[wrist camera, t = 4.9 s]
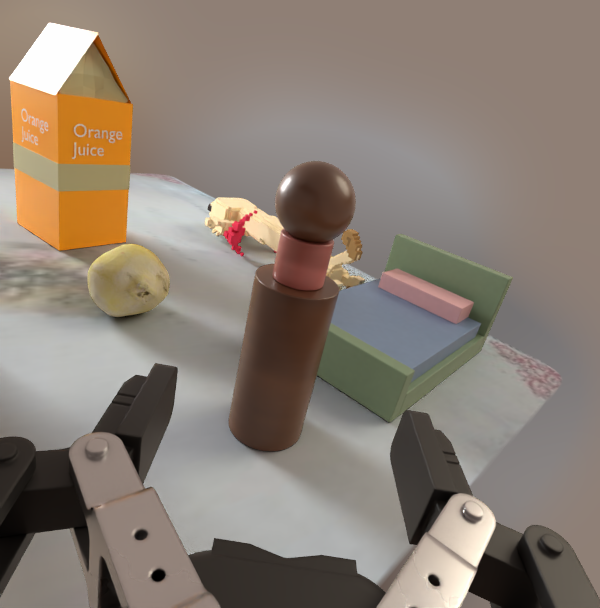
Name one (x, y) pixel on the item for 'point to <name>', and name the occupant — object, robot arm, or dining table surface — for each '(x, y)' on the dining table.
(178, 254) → the dining table surface
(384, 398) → the bed
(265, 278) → the skittle
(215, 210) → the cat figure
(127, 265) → the fruit
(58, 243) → the orange juice
